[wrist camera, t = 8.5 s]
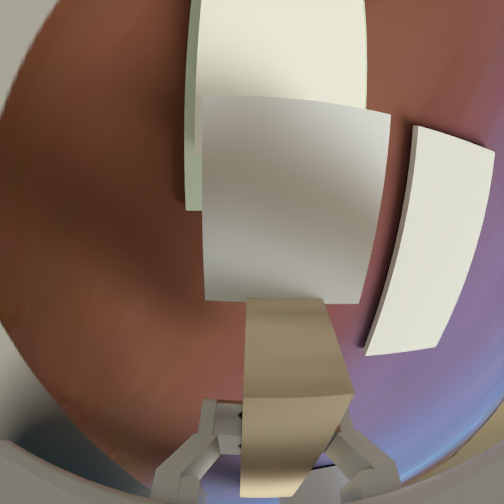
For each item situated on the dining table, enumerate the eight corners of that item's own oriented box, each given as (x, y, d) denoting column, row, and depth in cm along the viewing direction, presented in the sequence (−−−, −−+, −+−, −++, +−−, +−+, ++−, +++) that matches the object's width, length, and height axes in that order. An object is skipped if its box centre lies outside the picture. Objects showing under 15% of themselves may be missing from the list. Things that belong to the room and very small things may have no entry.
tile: (360, 164, 11) (361, -13, 7) (194, 155, 11) (204, -27, 7) (344, 158, 13) (347, 3, 9) (203, 150, 13) (211, -8, 9)
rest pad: (432, 342, 19) (435, 346, 19) (362, 350, 19) (365, 356, 19) (489, 150, 13) (494, 152, 12) (413, 125, 12) (418, 125, 12)
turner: (309, 425, 13) (319, 493, 9) (218, 424, 13) (211, 495, 9) (382, 115, 7) (486, 117, 3) (207, 98, 7) (153, 64, 3)
